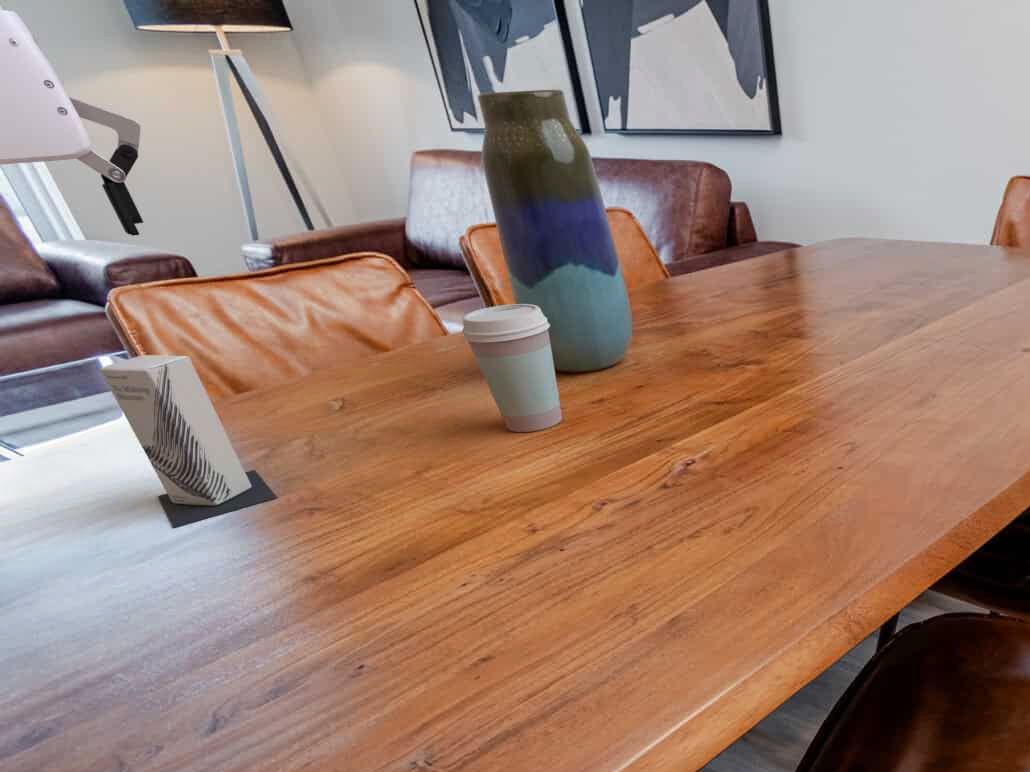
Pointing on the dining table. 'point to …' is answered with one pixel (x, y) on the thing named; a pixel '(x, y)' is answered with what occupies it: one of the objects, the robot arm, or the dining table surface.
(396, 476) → the dining table surface
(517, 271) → the vase
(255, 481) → the edge mat
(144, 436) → the box
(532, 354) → the coffee cup
